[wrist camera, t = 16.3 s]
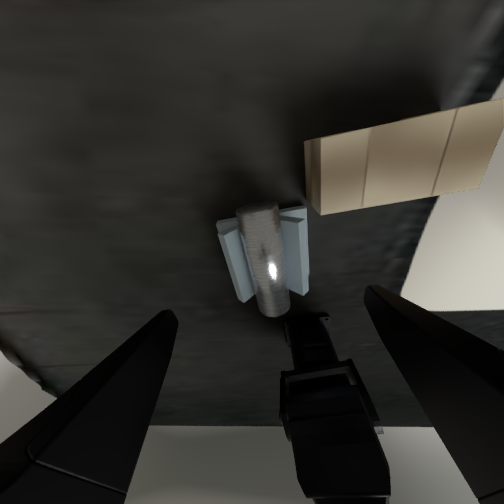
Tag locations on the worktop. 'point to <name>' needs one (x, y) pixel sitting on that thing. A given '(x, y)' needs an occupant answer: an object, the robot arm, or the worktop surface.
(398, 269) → the worktop surface
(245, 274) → the v block
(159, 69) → the worktop surface
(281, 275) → the axle
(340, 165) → the beam
